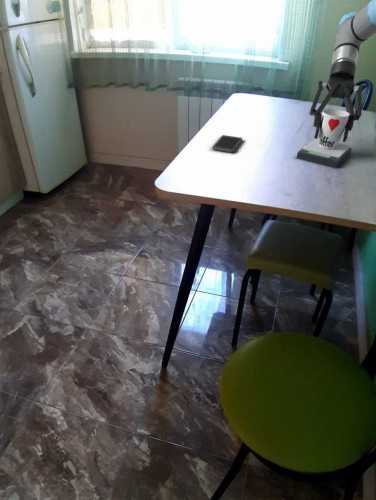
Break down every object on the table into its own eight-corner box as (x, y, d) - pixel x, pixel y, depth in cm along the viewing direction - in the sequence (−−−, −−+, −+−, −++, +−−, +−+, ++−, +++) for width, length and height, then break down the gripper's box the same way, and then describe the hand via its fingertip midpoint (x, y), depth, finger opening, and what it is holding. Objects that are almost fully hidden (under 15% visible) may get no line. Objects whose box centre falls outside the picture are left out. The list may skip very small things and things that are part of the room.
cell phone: (242, 139, 142) (243, 137, 141) (233, 153, 132) (233, 150, 131) (222, 136, 143) (222, 134, 143) (211, 149, 133) (211, 147, 133)
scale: (349, 154, 136) (352, 146, 134) (335, 168, 126) (338, 159, 125) (312, 145, 141) (314, 137, 139) (296, 158, 131) (298, 149, 129)
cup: (309, 145, 133) (317, 111, 126) (323, 140, 137) (332, 107, 130) (330, 152, 129) (340, 118, 122) (345, 147, 133) (354, 113, 126)
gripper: (374, 78, 131) (361, 148, 130) (307, 72, 133) (295, 140, 133) (382, 62, 123) (368, 135, 123) (311, 55, 126) (298, 127, 126)
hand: (330, 138), depth 128 cm, fingers closed on cup, 8 cm apart
